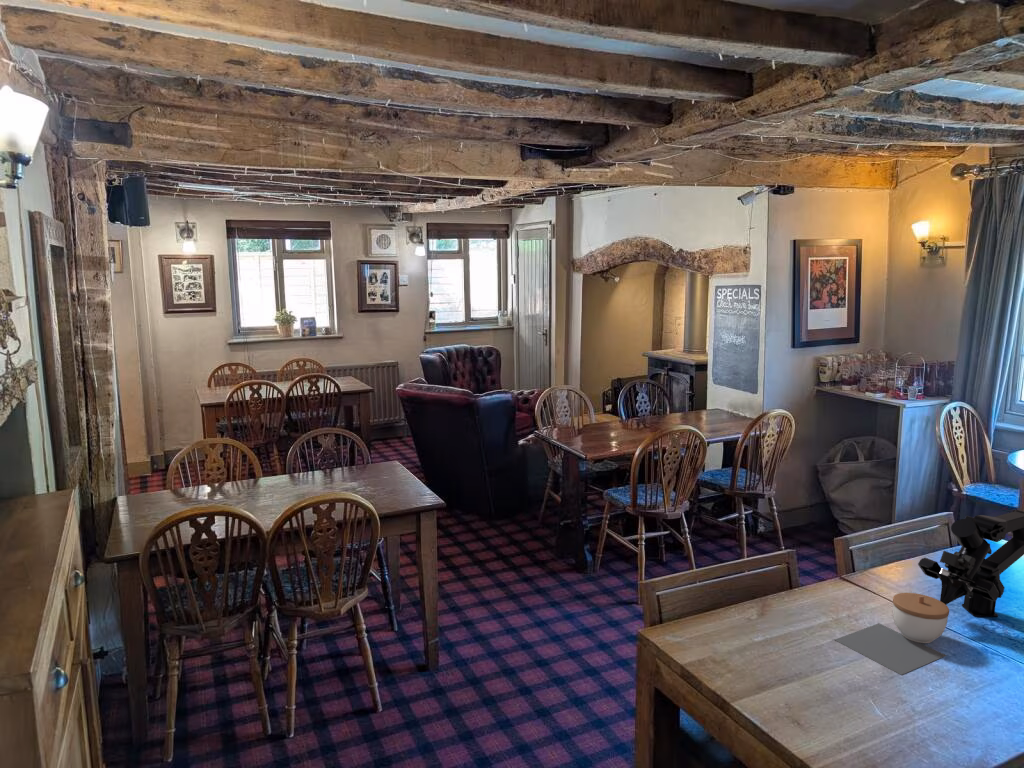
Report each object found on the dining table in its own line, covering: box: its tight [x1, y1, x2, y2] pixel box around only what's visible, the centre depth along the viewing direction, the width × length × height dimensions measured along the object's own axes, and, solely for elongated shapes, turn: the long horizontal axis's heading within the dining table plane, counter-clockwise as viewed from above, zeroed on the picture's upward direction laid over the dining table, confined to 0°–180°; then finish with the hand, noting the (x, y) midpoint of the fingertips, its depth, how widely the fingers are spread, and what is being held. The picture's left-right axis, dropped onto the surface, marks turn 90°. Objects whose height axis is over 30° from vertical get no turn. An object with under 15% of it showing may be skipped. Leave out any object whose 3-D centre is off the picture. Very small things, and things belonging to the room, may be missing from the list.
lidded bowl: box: [892, 592, 950, 644], centre depth 183 cm, size 13×13×11 cm
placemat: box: [834, 622, 947, 676], centre depth 178 cm, size 18×18×1 cm
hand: (941, 604), depth 187 cm, fingers closed
